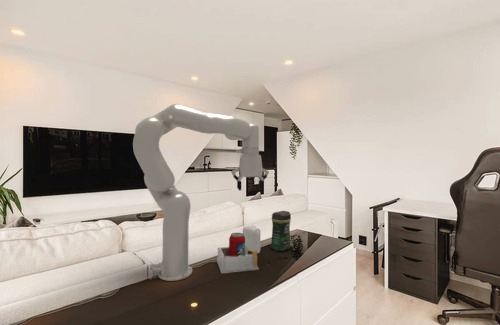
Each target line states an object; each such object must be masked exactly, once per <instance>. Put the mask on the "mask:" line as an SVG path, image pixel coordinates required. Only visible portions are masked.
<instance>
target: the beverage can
mask: <svg viewBox="0 0 500 325" xmlns="http://www.w3.org/2000/svg"><path fill="white" fill-rule="evenodd" d="M228 247H229V256H237V255H245V237H244V234H243V232H232V233H230V235H229V238H228Z"/></svg>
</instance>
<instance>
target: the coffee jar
mask: <svg viewBox="0 0 500 325" xmlns="http://www.w3.org/2000/svg"><path fill="white" fill-rule="evenodd" d="M291 215H292V214H291V213H290V211H288V210H287V211H286V210H280V211H275V212H273V213H272V214H271V222H272V228H271V230H272V231H271V242H270V248H271V249H272V250H274V251H276V252H284V251H286V250H289V249H290V248H291V233H290V232H291V229H290V228H291V221H292V220H291Z"/></svg>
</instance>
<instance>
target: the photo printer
mask: <svg viewBox="0 0 500 325" xmlns="http://www.w3.org/2000/svg"><path fill="white" fill-rule="evenodd" d="M242 233H243V234H244V237H245V246H248V252H250V253H252V250H257V254H259V253H260V252H261V230H260V228H259V227H258V226H256V225H254V224H245V225H244V226H243V227H242Z"/></svg>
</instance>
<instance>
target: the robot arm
mask: <svg viewBox="0 0 500 325" xmlns="http://www.w3.org/2000/svg"><path fill="white" fill-rule="evenodd" d="M176 128H181V129H185V130H190V131H194V132H197V133H201V134H208V135H209V134H210V135H211V134H221V135H224V136H225V138H226V139H228V140H231V141H240V140H241V142H242V143H241V144H242V145H241V148H239V149H238V153H241V154H240V158H239V164H238V167H237V168H236V169H233V170H232V171H231V172H230V173H231V174H232V177H233V179H235V181H236V187H237V188H236V189H238V191H242V181H241V180H242V179H243V178H258V190H260V191H262V190H263V188H264V181H265V180H266V179H267V178H268V176H269V174H270V172H269V170H267V169H265V168H264V167H263V161H262V160H263V159H262V155H261V154H259V153H260V152H259V150H260V127H259V125H258V124H255V123H249V122H247V121H246V120H244V119H241V118H237V117H235V116H230V115H224V114H219V113H218V114H217V113H213V112H208V111H203V110H201V109H197V108H193V107H190V106H187V105H185V104H180V103H174V104H171V105H169V106H167V107H166V108H164V109H163V110H161V111H159V112H158V113H156V114H154V115H152V116H148V117H146V118H144V119H142V120H141V121H140V122H138V123H137V125H136V126H135V130H134V134H133V135H134V136H133V141H132V148H133V154H134V156H135V158H136V160H137V162H138V164H139V166H140V169H141V170H142V172H143V174H144V175H143V180H144V184H145V186H146V188H147V190H148V191H149V193H150V195H151V196H152V199H154V201H155V203H156V204H157V206H158V207H159V208H160V210H162V211H163V219H162V220H163V221H162V259H161V262H159V263H154V264H153V263H152V264H151V263H150V264H149V270H150V271H151V270H152V272H154V273H155V272H157V277H158V278H159V279H161V280H163V281H166V282H173V281H180V280H184V279H187V278H189V277H190V276H191V275H192V274H193V268H192V266H190V265H189V242H190V241H189V240H190V239H189V236H190V235H189V228H190V227H189V223H190V216H191V215H190V213H191V201H190V197H189V196H188V195H187V194H186V193H185V192H182V191H181V190H179V189H177V188H176V185H175V182H176V178H175V174H174V173H173V171H172V170H171V168H170V166H169V165H168V163H167V161H166V159H165V158H164V156H163V154H162V152H161V149H160V140H161V138H162V137H163V136H164V135H166V134H168V133H170V132H171V131H173V130H174V129H176ZM236 173H238V176H237V174H236ZM263 173H264V174H263Z"/></svg>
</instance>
